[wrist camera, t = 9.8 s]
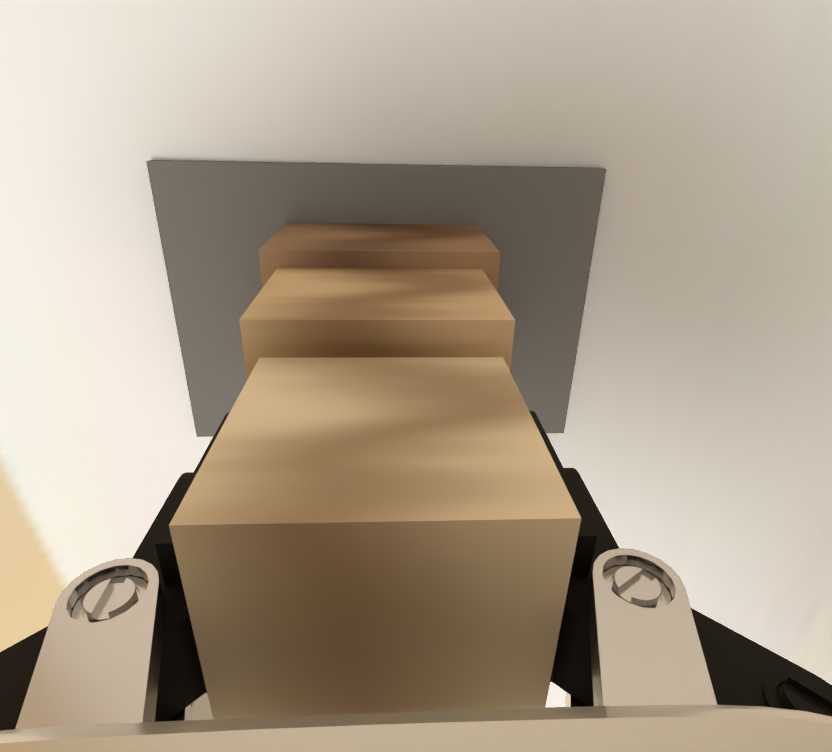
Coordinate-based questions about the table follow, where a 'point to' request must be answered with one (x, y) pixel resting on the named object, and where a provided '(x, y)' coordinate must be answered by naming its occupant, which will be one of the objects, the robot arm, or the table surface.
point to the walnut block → (379, 247)
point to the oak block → (376, 315)
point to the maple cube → (376, 542)
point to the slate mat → (375, 204)
